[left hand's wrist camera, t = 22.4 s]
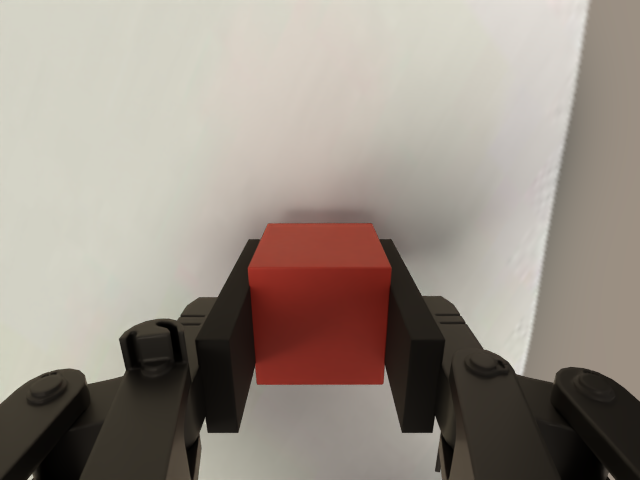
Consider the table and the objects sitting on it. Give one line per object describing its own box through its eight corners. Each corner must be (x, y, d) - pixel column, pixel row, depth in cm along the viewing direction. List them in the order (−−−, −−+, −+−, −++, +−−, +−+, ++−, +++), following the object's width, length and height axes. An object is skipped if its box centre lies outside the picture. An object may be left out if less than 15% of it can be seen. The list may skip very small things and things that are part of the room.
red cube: (267, 223, 14) (247, 267, 10) (372, 223, 14) (392, 267, 10) (272, 315, 16) (256, 385, 12) (367, 314, 16) (383, 385, 12)
